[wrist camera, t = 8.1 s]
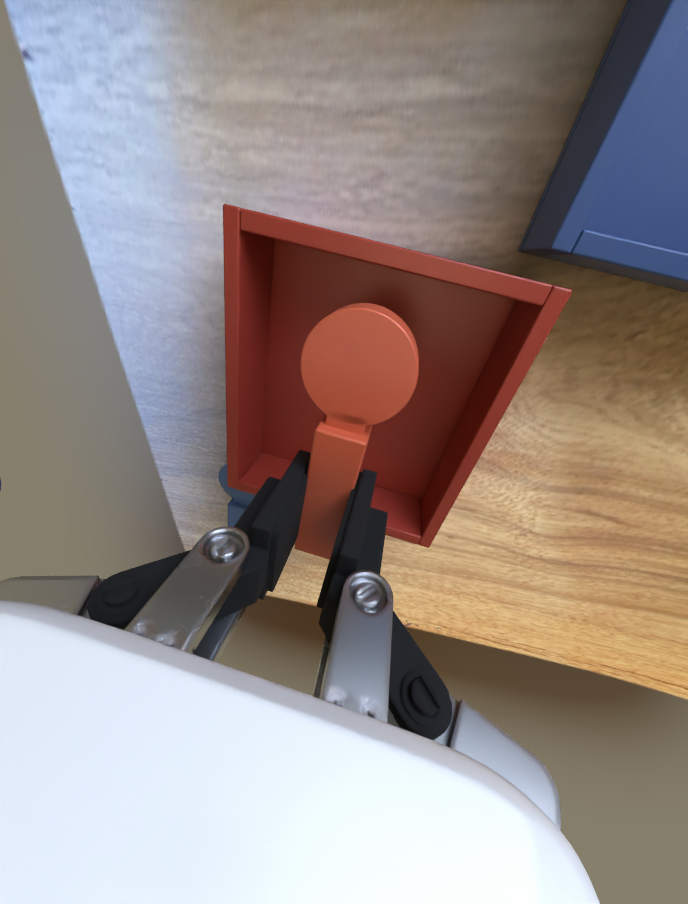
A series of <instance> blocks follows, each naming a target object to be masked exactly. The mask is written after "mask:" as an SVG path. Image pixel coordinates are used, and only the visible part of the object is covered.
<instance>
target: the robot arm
mask: <svg viewBox="0 0 688 904" xmlns="http://www.w3.org/2000/svg"><path fill="white" fill-rule="evenodd" d="M310 456H311V453H310V452H306V451H303V450H299V451H298V453H297V454H296V456H295V458H294V459H293V461H292V462H291V464H290V465H289V467H288V469H287V470H286V472H285V473H284V475H283V476H282V478H281V480H280V479H277V478H274V477H268V479H267V480H266V481H265V483H264V484H263V485H262V487H261V488H260V490H259V491H258V493H257V494H256V495H255V497H254V498H253V500H252V501H251V503H250V504H249V506H248V507H247V508H246V510H245V511H244V513H243V514H242V516H241V517H240V518H239V520H238V521H237V523H236V524H235V526H234V527H230V526H229V527H219V528H215V529H213V530H211V531H209V532H207V533H206V534H205V535H204V536H203V537H202V538H201V539H200V540H199V541H198V542H197V544H196V545H195V546H194V547H193V548H192V550H189V551H186V552H183V553H180V554H177V555H174V556H171V557H167V558H164V559H161V560H158V561H155V562H151V563H148V564H145V565H142V566H139V567H135V568H132V569H129V570H126V571H123V572H120V573H117V574H115V575H113V576H110V577H109V578H107V579H100V578H99V576H31V577H30V576H24V577H23V576H21V577H14V578H9V579H6V580H3V581H0V904H600V903H599V900H598V898H597V896H596V893H595V890H594V888H593V886H592V883H591V881H590V879H589V876H588V874H587V872H586V871H585V869H584V867H583V865H582V863H581V861H580V859H579V857H578V855H577V854H576V852H575V851H574V849H573V848H572V846H571V845H570V843H569V842H568V840H567V839H566V838H565V837H564V836H563V834H562V833H561V829H560V828H561V822H560V821H561V808H560V801H559V794H558V791H557V789H556V786H555V784H554V781H553V778H552V777H551V775H550V774H549V772H548V771H547V769H546V767H545V766H544V764H543V763H542V762H541V761H540V760H539V759H538V758H537V757H536V756H535V755H534V754H532V753H531V752H530V751H529V750H527V749H526V748H525V747H523V746H522V745H520V744H519V743H518V742H517V741H515V740H514V739H513V738H512V737H510V736H509V735H508V734H506V733H505V732H504V731H502V730H501V729H500V728H498V727H497V726H496V725H495V724H493V723H492V722H491V721H489V720H488V719H487V718H485V717H484V716H483V715H481V714H480V713H479V712H477V711H476V710H475V709H474V708H472V707H471V706H470V705H468V704H467V703H466V702H464V701H463V700H460V701H457V700H456V699H455V698H454V697H452V696H451V695H450V694H449V692H448V690H447V688H446V686H445V685H444V683H443V681H442V680H441V678H440V677H439V675H438V674H437V672H436V671H435V670H434V668H433V667H432V665H431V664H430V662H429V661H428V660H427V658H426V657H425V656H424V654H423V653H422V651H421V650H420V648H419V647H418V645H417V644H416V643H415V641H414V640H413V638H412V637H411V635H410V634H409V633H408V631H407V630H406V628H405V627H404V625H403V624H402V623H401V621H400V620H399V618H398V617H397V615H396V614H395V613H394V611H393V592H392V590H391V587H390V585H389V584H388V582H387V581H386V580H385V579H384V578H383V577H382V576H380V569H381V561H382V554H383V546H384V539H385V532H386V524H387V517H388V512H385V511H382V510H379V509H375V508H372V507H370V506H371V501H372V496H373V492H374V487H375V482H376V477H377V472H374V471H370V470H367V469H363V472H360V471H359V474H358V478H357V481H356V484H355V488H354V489H351V492H350V495H349V498H348V502H347V505H346V508H345V511H344V515H343V518H342V521H341V524H340V528H339V531H338V534H337V537H336V541H335V544H334V547H333V551H332V554H331V557H330V561H329V564H328V568H327V571H326V575H325V578H324V582H323V585H322V589H321V592H320V596H319V599H318V603H317V607H319V608H322V612H321V616H320V621H319V625H320V627H321V628H322V630H323V632H324V634H325V636H326V637H325V641H324V646H323V650H322V655H321V659H320V663H319V668H318V672H317V677H316V682H315V686H314V691H313V695H312V696H310V695H307V694H305V693H301V692H299V691H296V690H293V689H291V688H288V687H285V686H282V685H279V684H276V683H273V682H271V681H267V680H265V679H262V678H259V677H256V676H254V675H251V674H248V673H245V672H242V671H239V670H237V669H234V668H231V667H228V666H225V665H222V664H219V663H217V662H218V660H219V658H220V656H221V655H222V653H223V651H224V649H225V647H226V645H227V643H228V642H229V640H230V638H231V636H232V634H233V632H234V631H235V629H236V627H237V625H238V623H239V621H240V619H241V618H242V616H243V614H244V612H245V609H246V607H247V606H249V605H251V604H254V603H256V602H257V600H258V598H260V599H264V597H265V595H266V592H267V590H268V591H271V592H273V590H274V588H275V586H276V584H277V582H278V579H279V577H280V575H281V573H282V570H283V568H284V566H285V564H286V561H287V559H288V557H289V555H290V552H291V550H292V548H293V546H294V543H295V541H296V539H297V537H298V532H299V527H300V521H301V515H302V510H303V504H304V498H305V493H306V487H307V482H308V476H307V473H308V467H309V461H310Z"/></svg>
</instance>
